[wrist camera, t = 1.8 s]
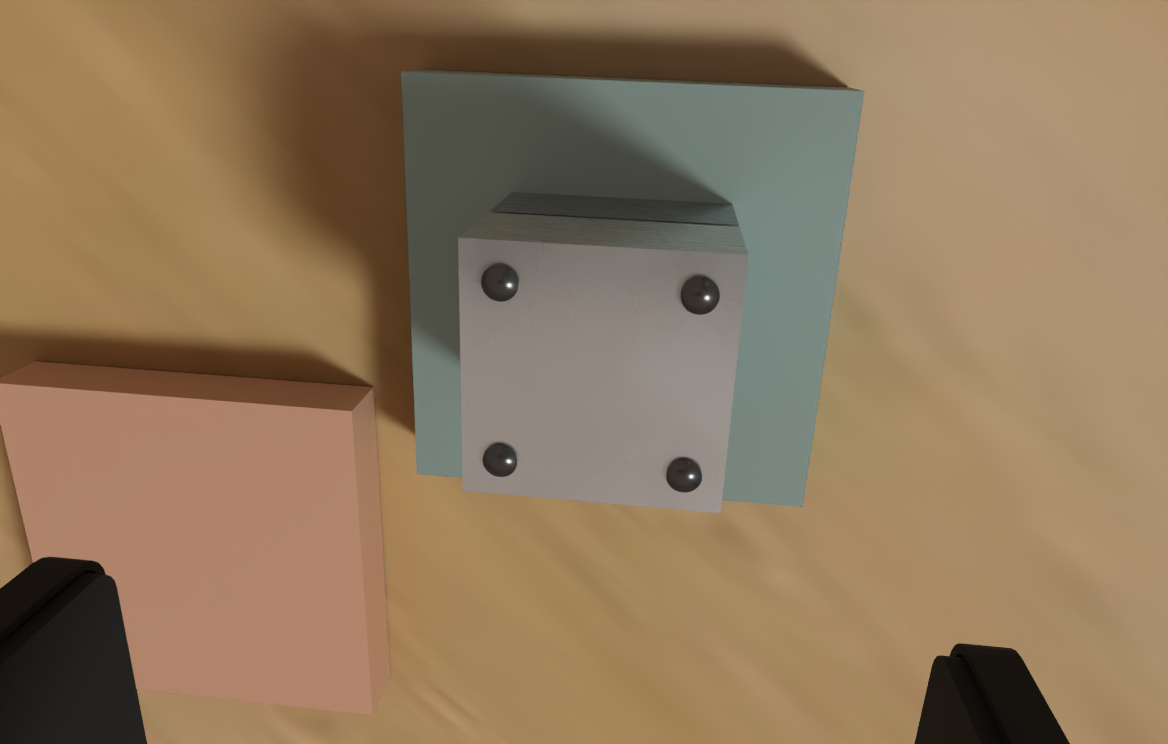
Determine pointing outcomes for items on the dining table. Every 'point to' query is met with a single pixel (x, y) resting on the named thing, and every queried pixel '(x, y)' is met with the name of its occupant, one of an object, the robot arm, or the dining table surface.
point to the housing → (600, 349)
